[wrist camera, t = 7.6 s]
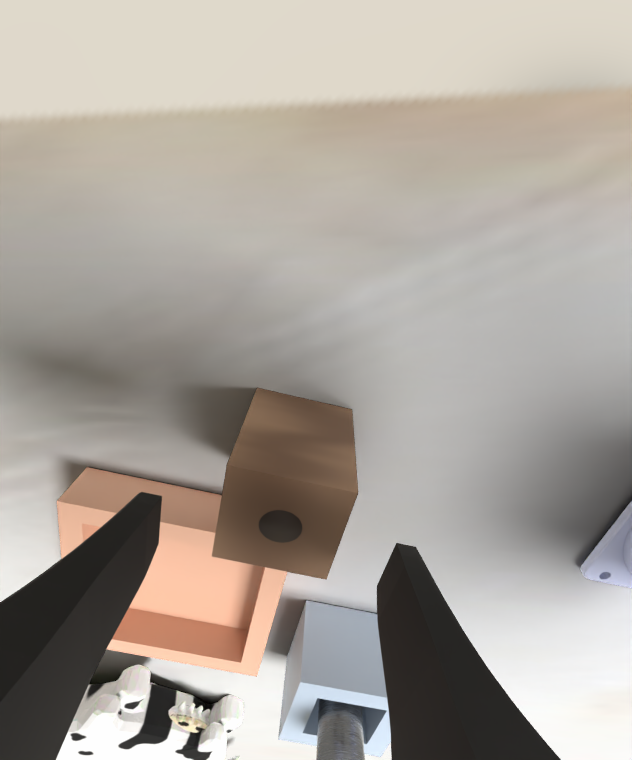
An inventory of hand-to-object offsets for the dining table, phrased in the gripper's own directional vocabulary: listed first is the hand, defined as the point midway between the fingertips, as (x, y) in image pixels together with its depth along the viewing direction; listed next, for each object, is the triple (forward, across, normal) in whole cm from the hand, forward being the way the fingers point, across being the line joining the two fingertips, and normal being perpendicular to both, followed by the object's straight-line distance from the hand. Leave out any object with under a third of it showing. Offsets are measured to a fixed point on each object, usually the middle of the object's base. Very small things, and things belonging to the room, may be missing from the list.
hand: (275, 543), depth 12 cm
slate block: (+6, -6, +13) cm, 15 cm away
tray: (+6, +4, +9) cm, 11 cm away
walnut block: (+6, 0, 0) cm, 6 cm away
